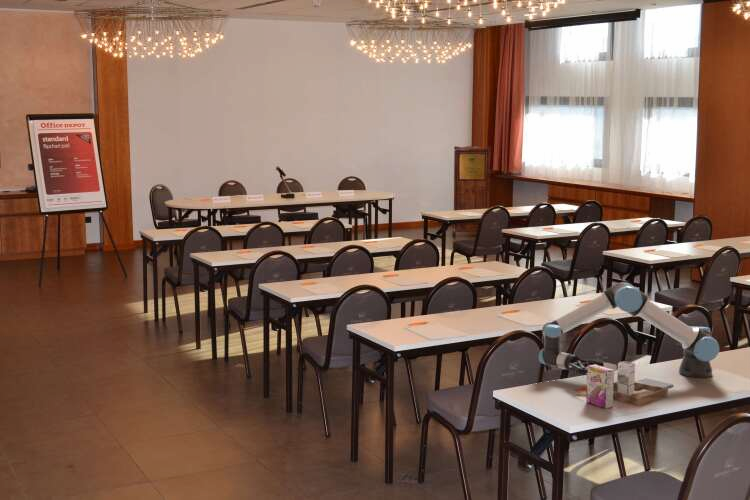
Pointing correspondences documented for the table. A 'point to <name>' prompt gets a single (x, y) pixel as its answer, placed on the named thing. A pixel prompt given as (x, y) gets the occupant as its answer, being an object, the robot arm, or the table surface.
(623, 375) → the syrup box
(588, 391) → the candy bar box
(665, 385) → the grey mat
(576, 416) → the table surface
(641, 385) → the walnut frame
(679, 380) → the table surface
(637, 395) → the top offcut
